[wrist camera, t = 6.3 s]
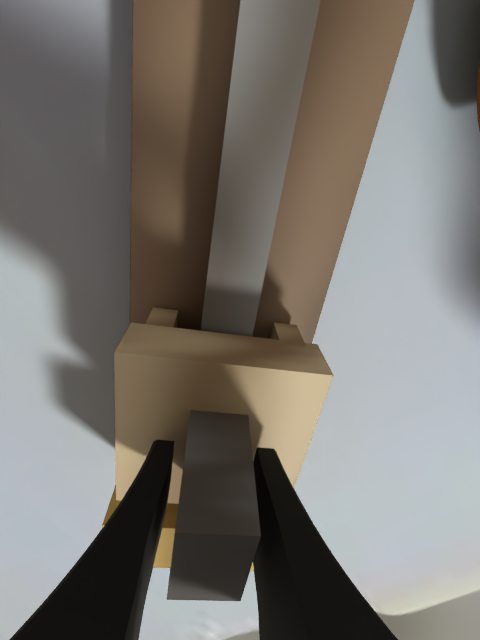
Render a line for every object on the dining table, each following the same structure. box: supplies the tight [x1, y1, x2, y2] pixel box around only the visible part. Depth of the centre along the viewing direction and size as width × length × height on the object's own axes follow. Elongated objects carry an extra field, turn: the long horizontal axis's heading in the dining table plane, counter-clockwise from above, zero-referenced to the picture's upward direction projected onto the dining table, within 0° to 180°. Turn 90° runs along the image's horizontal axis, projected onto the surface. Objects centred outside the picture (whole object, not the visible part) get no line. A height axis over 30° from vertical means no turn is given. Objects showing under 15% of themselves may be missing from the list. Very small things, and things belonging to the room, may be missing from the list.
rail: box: [102, 0, 414, 571], centre depth 11 cm, size 8×28×6 cm, turn 171°
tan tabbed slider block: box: [114, 307, 333, 601], centre depth 11 cm, size 7×7×8 cm
